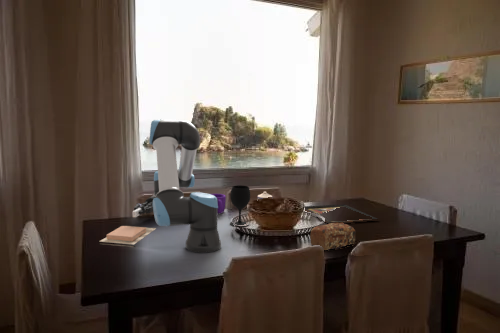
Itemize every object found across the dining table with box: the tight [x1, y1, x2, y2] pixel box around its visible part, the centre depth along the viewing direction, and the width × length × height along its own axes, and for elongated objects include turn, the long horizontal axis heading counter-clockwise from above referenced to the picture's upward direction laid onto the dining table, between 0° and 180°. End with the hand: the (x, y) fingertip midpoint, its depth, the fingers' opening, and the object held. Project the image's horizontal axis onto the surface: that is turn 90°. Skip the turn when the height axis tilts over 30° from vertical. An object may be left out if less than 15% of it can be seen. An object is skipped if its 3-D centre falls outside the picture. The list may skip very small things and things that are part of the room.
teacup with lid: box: [257, 191, 273, 200], centre depth 231 cm, size 12×9×12 cm
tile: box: [106, 225, 146, 242], centre depth 173 cm, size 2×12×14 cm
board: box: [99, 225, 157, 248], centre depth 175 cm, size 24×16×1 cm, turn 171°
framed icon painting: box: [304, 204, 378, 224], centre depth 225 cm, size 38×35×3 cm
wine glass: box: [229, 184, 251, 227], centre depth 199 cm, size 10×10×20 cm
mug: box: [210, 193, 227, 215], centre depth 221 cm, size 17×11×10 cm, turn 22°
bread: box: [309, 223, 357, 251], centre depth 171 cm, size 19×11×10 cm, turn 121°
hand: (134, 214), depth 180 cm, fingers closed
